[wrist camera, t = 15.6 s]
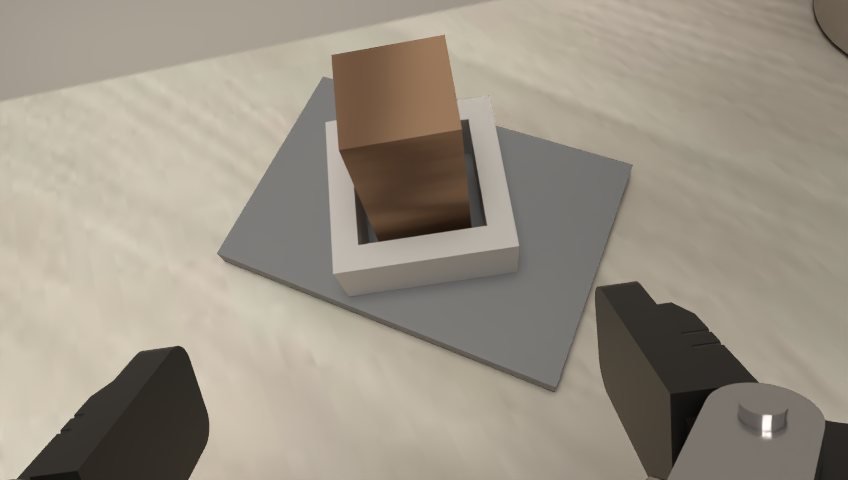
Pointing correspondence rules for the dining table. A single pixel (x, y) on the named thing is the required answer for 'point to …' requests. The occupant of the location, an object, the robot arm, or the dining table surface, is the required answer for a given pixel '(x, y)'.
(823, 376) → the dining table surface
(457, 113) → the walnut peg
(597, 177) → the socket plate
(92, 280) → the dining table surface
